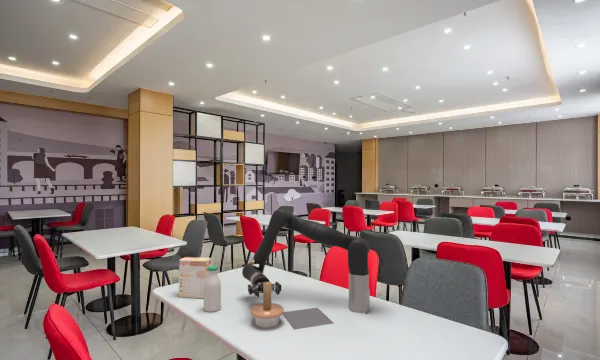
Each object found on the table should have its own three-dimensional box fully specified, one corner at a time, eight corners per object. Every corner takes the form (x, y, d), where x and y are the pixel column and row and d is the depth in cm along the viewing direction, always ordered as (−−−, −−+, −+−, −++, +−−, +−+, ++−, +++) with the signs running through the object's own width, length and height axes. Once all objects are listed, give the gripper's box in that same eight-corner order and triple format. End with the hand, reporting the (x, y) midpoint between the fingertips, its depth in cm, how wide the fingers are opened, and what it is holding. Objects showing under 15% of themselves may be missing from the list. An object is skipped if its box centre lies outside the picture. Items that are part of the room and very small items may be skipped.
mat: (317, 308, 153) (317, 307, 153) (334, 324, 136) (334, 323, 136) (281, 313, 147) (281, 312, 147) (293, 330, 130) (293, 329, 130)
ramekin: (278, 330, 130) (278, 317, 130) (251, 329, 130) (251, 316, 130) (281, 318, 141) (281, 306, 141) (256, 318, 142) (256, 306, 142)
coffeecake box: (211, 294, 170) (211, 257, 171) (205, 299, 163) (205, 260, 164) (185, 292, 173) (185, 256, 173) (178, 297, 166) (178, 259, 166)
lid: (289, 308, 139) (289, 280, 139) (272, 321, 127) (273, 290, 127) (262, 303, 145) (262, 276, 145) (243, 314, 133) (244, 285, 133)
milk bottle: (224, 309, 151) (224, 266, 151) (209, 313, 145) (210, 269, 146) (215, 304, 156) (215, 263, 156) (200, 309, 151) (201, 266, 151)
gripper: (244, 275, 147) (251, 286, 132) (274, 272, 152) (284, 282, 137) (244, 291, 147) (251, 304, 132) (274, 288, 152) (284, 300, 137)
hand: (268, 293), depth 134 cm, fingers open, 8 cm apart
